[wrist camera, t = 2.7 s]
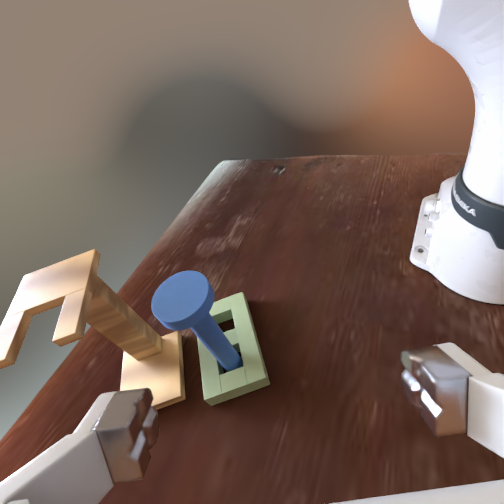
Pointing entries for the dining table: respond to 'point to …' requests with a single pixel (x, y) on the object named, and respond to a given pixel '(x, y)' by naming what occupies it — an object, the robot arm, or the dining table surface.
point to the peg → (194, 314)
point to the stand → (96, 325)
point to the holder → (244, 341)
